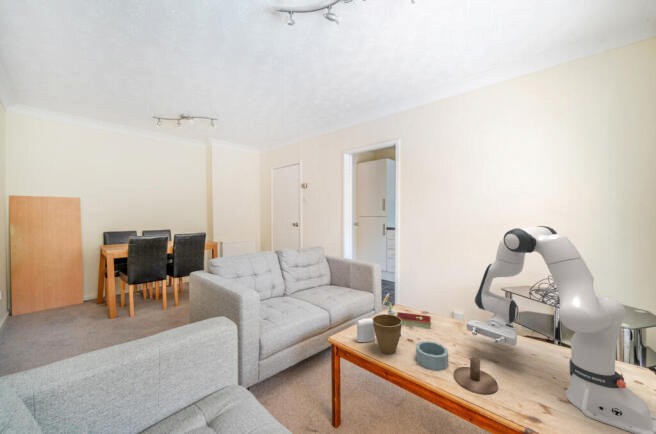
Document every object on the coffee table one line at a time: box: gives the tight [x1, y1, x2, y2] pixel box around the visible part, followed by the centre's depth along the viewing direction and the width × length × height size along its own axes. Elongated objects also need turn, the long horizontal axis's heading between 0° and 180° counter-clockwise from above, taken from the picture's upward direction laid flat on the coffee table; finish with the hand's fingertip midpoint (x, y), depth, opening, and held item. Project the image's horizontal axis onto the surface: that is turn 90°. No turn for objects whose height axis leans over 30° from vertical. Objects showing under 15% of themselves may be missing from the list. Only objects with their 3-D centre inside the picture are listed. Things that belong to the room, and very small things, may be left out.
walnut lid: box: [453, 356, 499, 396], centre depth 106 cm, size 16×16×9 cm
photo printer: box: [356, 318, 376, 343], centre depth 141 cm, size 10×4×12 cm, turn 103°
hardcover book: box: [396, 311, 432, 330], centre depth 162 cm, size 12×21×4 cm, turn 68°
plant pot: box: [372, 313, 403, 355], centre depth 131 cm, size 15×15×16 cm
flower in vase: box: [382, 293, 402, 335], centre depth 147 cm, size 13×11×25 cm
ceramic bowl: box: [415, 340, 449, 371], centre depth 120 cm, size 14×14×6 cm
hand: (485, 337), depth 114 cm, fingers open, 8 cm apart
